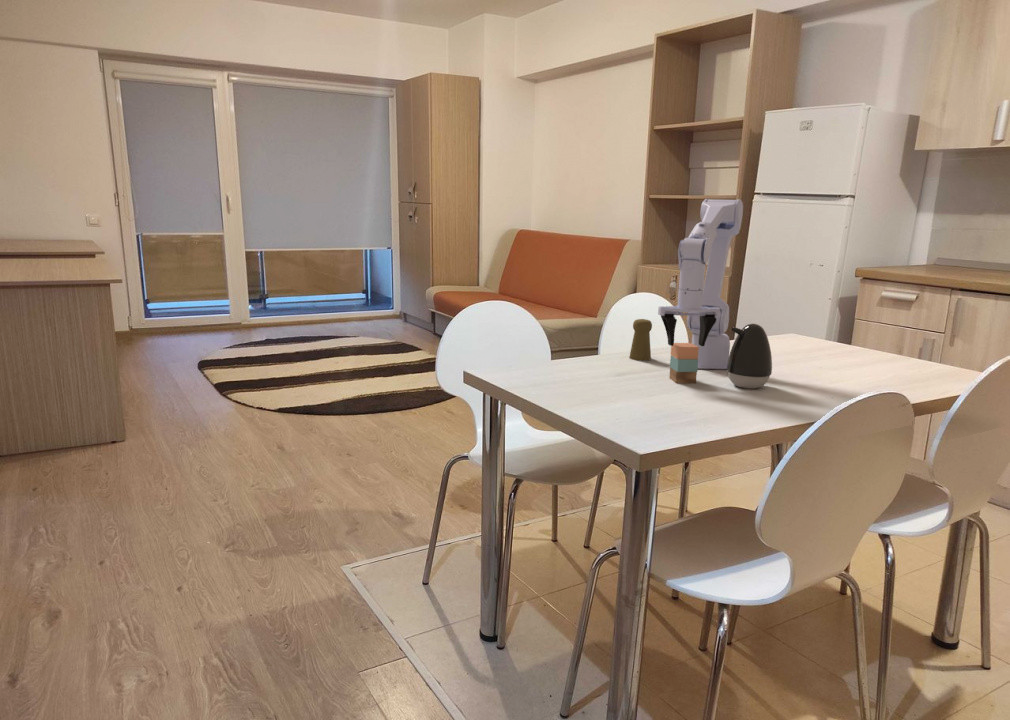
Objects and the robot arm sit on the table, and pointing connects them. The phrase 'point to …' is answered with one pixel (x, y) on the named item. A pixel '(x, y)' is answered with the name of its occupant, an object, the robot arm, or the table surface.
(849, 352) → the table surface
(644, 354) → the olive upright rounded piece
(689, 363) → the teal slab
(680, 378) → the walnut slab
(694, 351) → the orange block
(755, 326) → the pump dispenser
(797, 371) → the table surface
